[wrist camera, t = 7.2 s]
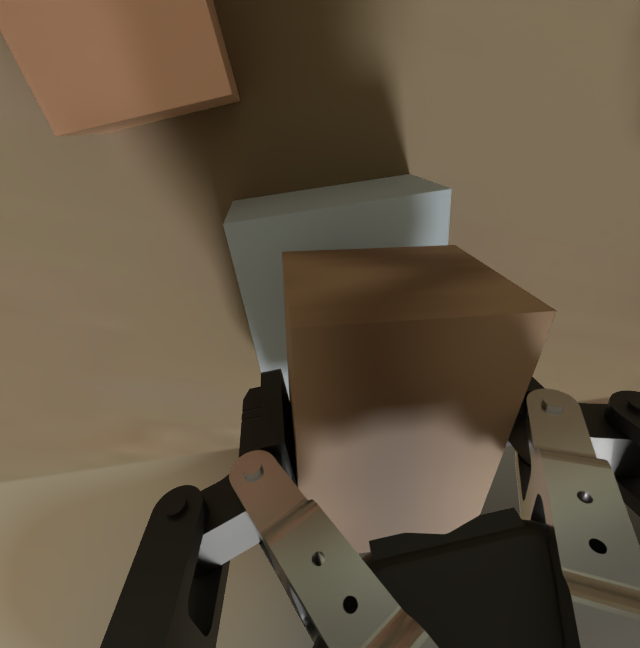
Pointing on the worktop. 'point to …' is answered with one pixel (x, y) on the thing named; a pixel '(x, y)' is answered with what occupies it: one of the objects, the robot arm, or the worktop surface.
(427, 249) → the walnut brick
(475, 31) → the worktop surface
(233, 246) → the base brick
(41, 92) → the terracotta brick
